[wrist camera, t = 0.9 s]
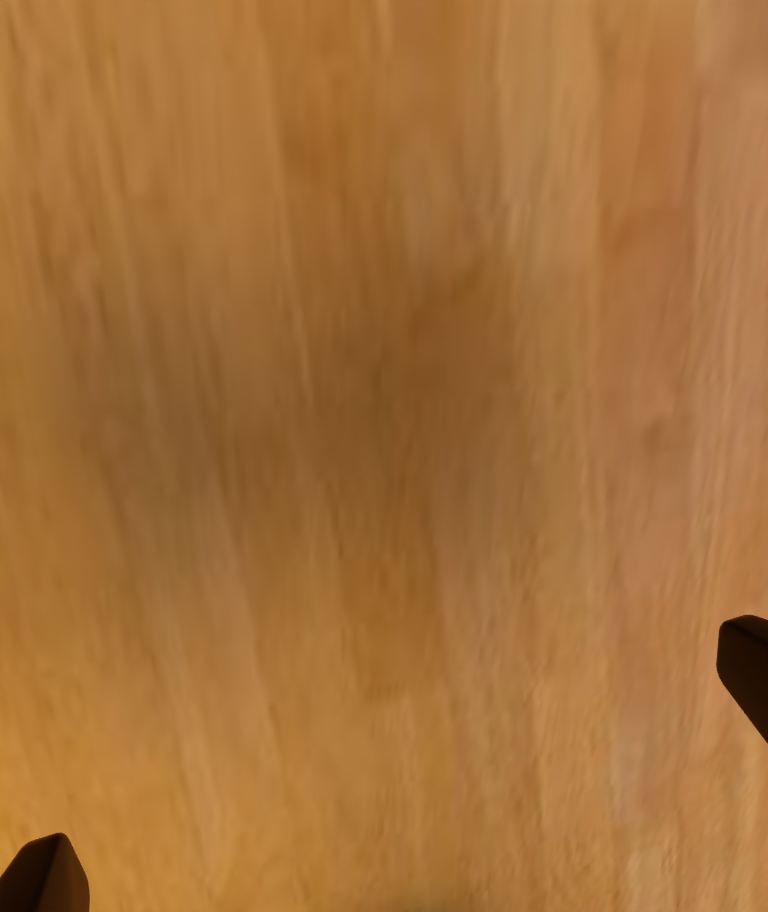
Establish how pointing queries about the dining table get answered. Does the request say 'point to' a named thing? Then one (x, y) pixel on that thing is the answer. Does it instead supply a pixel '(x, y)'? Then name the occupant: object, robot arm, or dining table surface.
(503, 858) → the dining table surface
